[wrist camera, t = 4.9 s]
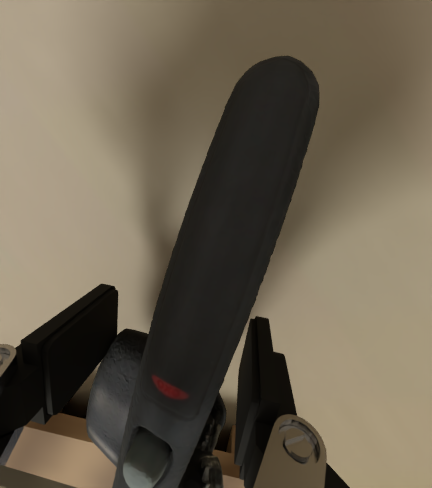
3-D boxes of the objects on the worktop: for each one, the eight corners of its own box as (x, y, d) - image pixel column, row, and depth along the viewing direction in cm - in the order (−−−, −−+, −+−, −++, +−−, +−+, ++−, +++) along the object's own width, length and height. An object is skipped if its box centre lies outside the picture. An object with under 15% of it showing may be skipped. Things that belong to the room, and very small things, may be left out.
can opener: (208, 449, 13) (179, 632, 8) (100, 402, 13) (1, 547, 8) (380, 139, 8) (653, 51, 3) (196, 69, 8) (94, -144, 3)
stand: (275, 434, 17) (282, 489, 14) (247, 519, 20) (248, 577, 17) (22, 376, 18) (-20, 415, 15) (35, 466, 21) (3, 511, 18)
